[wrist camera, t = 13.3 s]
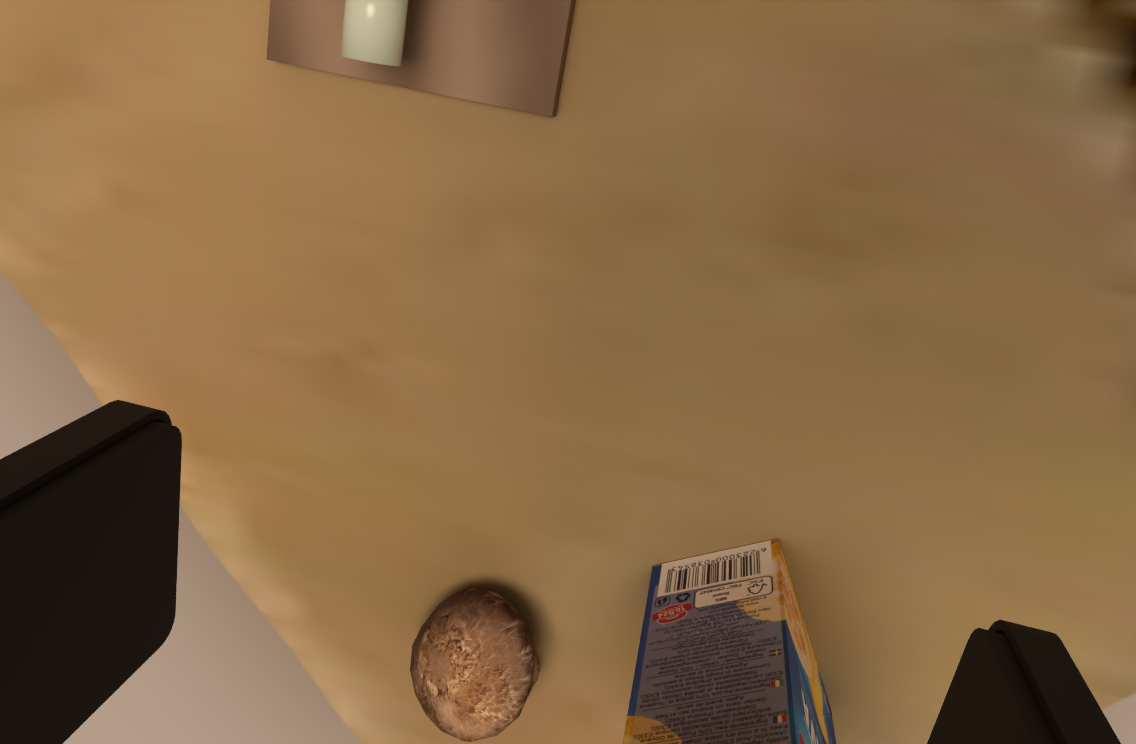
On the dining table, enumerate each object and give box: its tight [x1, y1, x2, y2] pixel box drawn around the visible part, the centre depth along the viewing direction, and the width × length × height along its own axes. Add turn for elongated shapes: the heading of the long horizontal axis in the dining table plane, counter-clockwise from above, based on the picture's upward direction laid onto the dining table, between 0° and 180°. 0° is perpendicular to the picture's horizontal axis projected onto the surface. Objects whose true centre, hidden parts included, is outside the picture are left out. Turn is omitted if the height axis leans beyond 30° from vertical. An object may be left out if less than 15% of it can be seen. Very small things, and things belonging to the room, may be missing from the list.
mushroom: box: [410, 588, 540, 742], centre depth 50 cm, size 8×8×6 cm
